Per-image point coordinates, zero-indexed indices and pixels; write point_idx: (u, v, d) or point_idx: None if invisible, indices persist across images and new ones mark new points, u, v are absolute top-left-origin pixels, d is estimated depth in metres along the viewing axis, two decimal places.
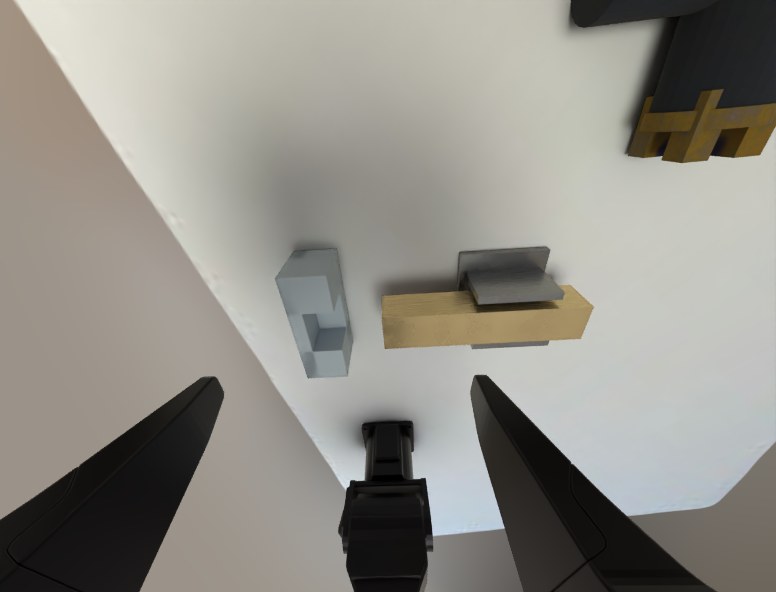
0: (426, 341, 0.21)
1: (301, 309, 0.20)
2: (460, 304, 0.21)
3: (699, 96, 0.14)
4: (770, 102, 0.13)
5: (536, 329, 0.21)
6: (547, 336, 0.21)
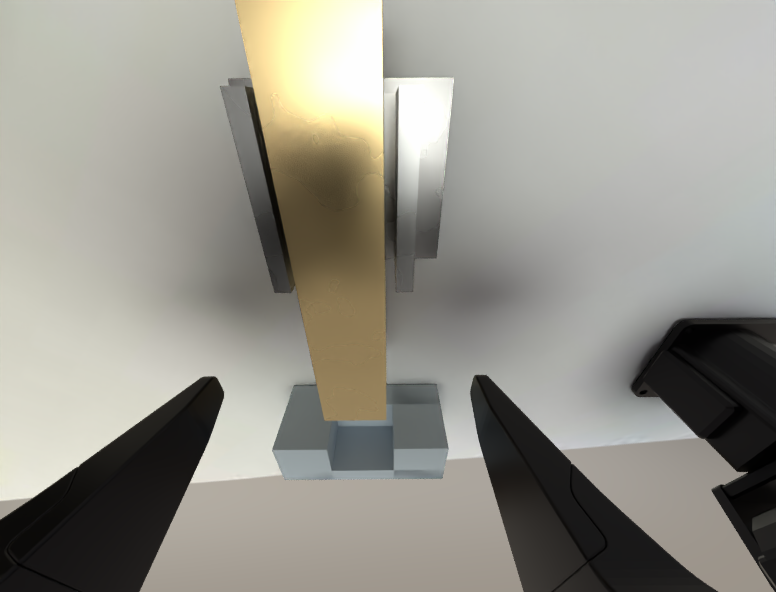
0: (373, 373, 0.12)
1: (324, 470, 0.17)
2: None
3: None
4: None
5: (338, 159, 0.07)
6: (364, 113, 0.07)
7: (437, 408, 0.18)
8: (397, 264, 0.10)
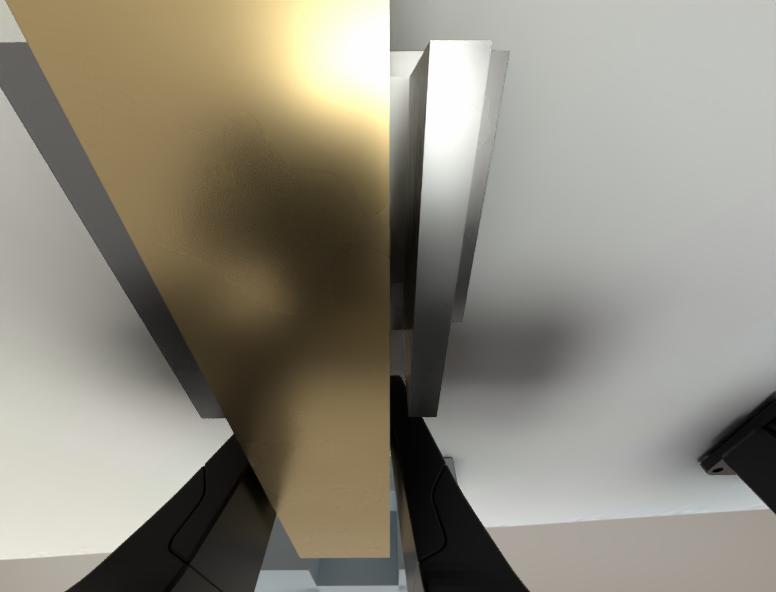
0: (370, 517, 0.08)
1: (307, 585, 0.13)
2: None
3: None
4: None
5: (285, 219, 0.03)
6: (341, 111, 0.03)
7: None
8: (412, 381, 0.05)
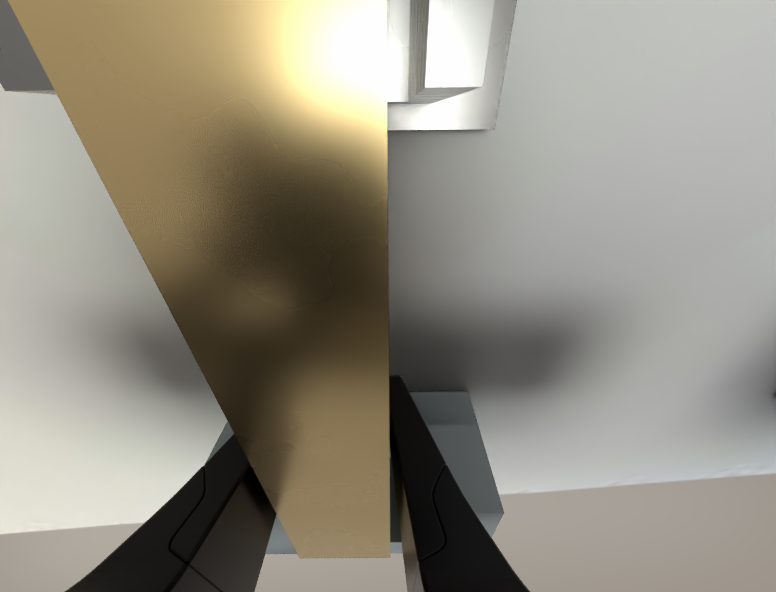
0: (370, 516, 0.07)
1: (281, 542, 0.10)
2: None
3: None
4: None
5: (282, 208, 0.03)
6: (338, 97, 0.03)
7: (474, 432, 0.11)
8: None
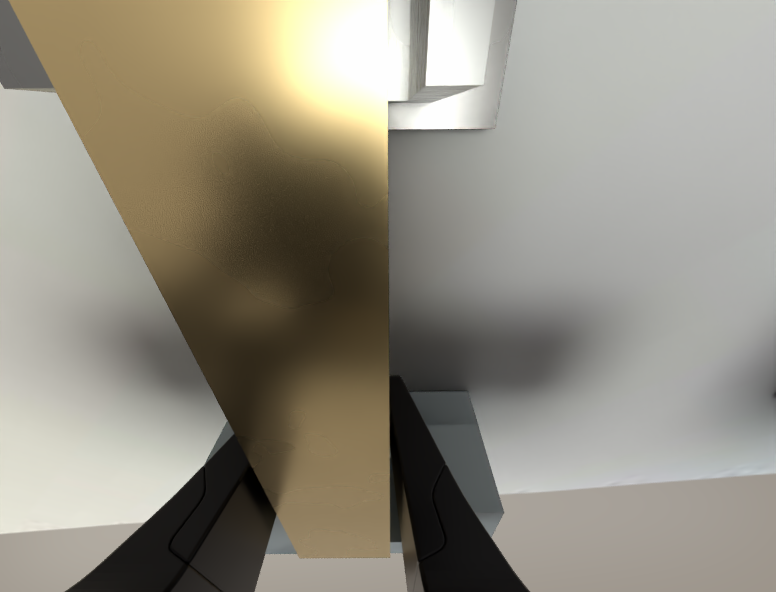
0: (370, 516, 0.07)
1: (281, 541, 0.10)
2: None
3: None
4: None
5: (283, 208, 0.03)
6: (339, 97, 0.03)
7: (474, 432, 0.11)
8: None
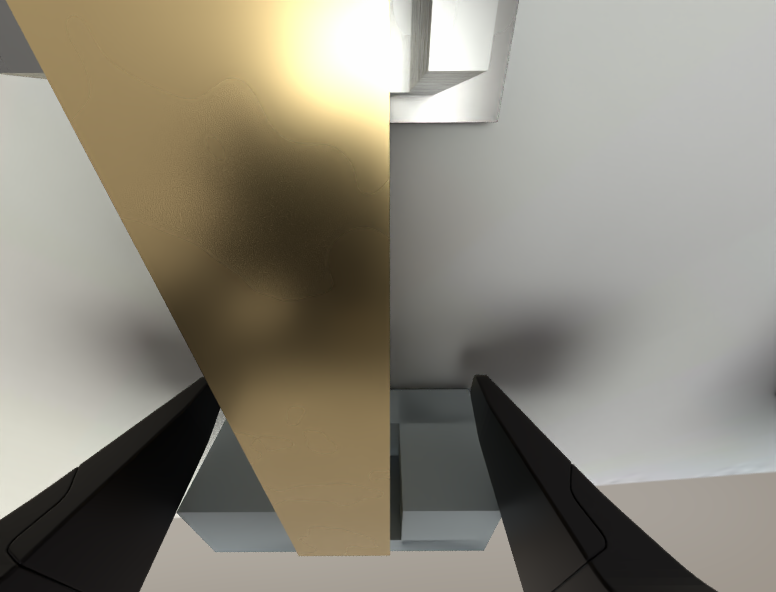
0: (369, 513, 0.07)
1: (280, 539, 0.10)
2: None
3: None
4: None
5: (281, 196, 0.03)
6: (339, 78, 0.02)
7: (474, 430, 0.11)
8: None
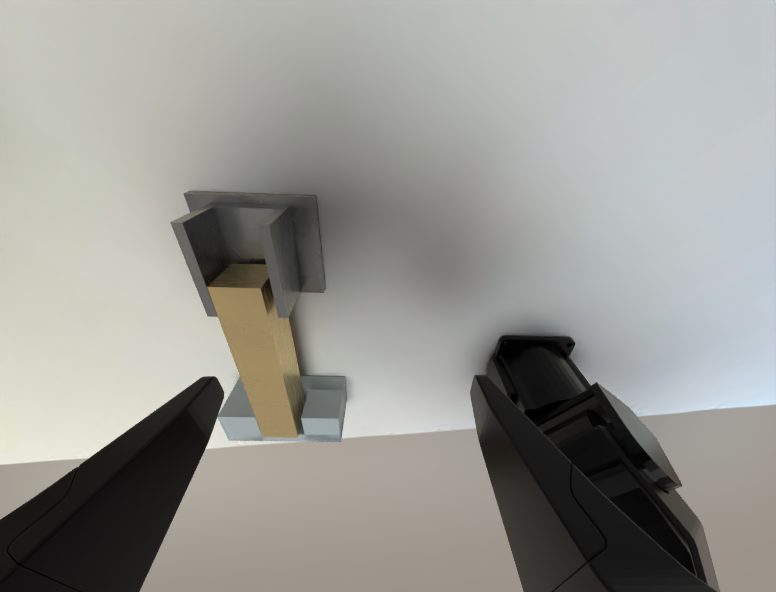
0: (285, 414, 0.22)
1: (256, 433, 0.24)
2: None
3: None
4: None
5: (254, 336, 0.18)
6: (262, 324, 0.17)
7: (339, 393, 0.25)
8: (275, 303, 0.17)
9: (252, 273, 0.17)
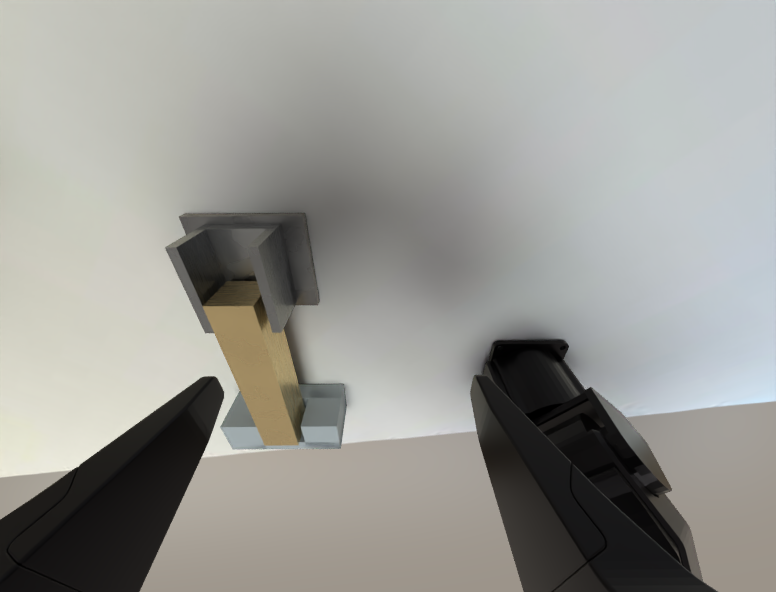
0: (285, 423, 0.23)
1: (258, 441, 0.25)
2: None
3: None
4: None
5: (250, 350, 0.18)
6: (256, 339, 0.18)
7: (338, 400, 0.26)
8: (268, 319, 0.18)
9: (246, 290, 0.18)
